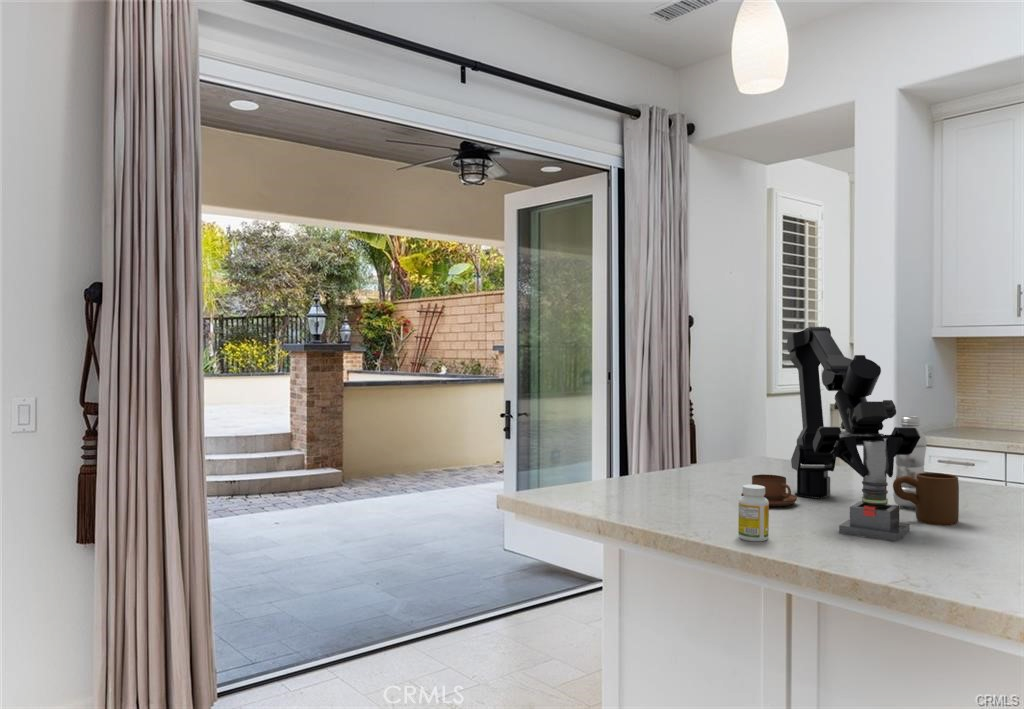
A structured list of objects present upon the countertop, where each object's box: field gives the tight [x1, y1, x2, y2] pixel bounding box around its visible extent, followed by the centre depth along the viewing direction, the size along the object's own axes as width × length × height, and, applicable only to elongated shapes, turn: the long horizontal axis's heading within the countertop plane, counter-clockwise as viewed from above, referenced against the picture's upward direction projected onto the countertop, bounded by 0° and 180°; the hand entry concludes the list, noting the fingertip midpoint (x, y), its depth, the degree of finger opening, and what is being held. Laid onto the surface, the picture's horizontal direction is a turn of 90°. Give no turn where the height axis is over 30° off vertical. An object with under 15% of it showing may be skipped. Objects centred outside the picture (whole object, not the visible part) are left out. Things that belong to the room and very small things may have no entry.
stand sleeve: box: [838, 500, 911, 543], centre depth 142 cm, size 10×10×6 cm
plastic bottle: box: [892, 415, 928, 509], centre depth 164 cm, size 6×7×20 cm
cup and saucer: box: [740, 474, 798, 507], centre depth 169 cm, size 12×12×6 cm
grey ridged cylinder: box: [861, 440, 889, 505], centre depth 142 cm, size 4×4×12 cm
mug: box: [892, 472, 960, 526], centre depth 151 cm, size 12×8×9 cm, turn 77°
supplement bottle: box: [737, 484, 770, 542], centre depth 138 cm, size 5×5×10 cm
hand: (877, 475), depth 141 cm, fingers open, 5 cm apart
